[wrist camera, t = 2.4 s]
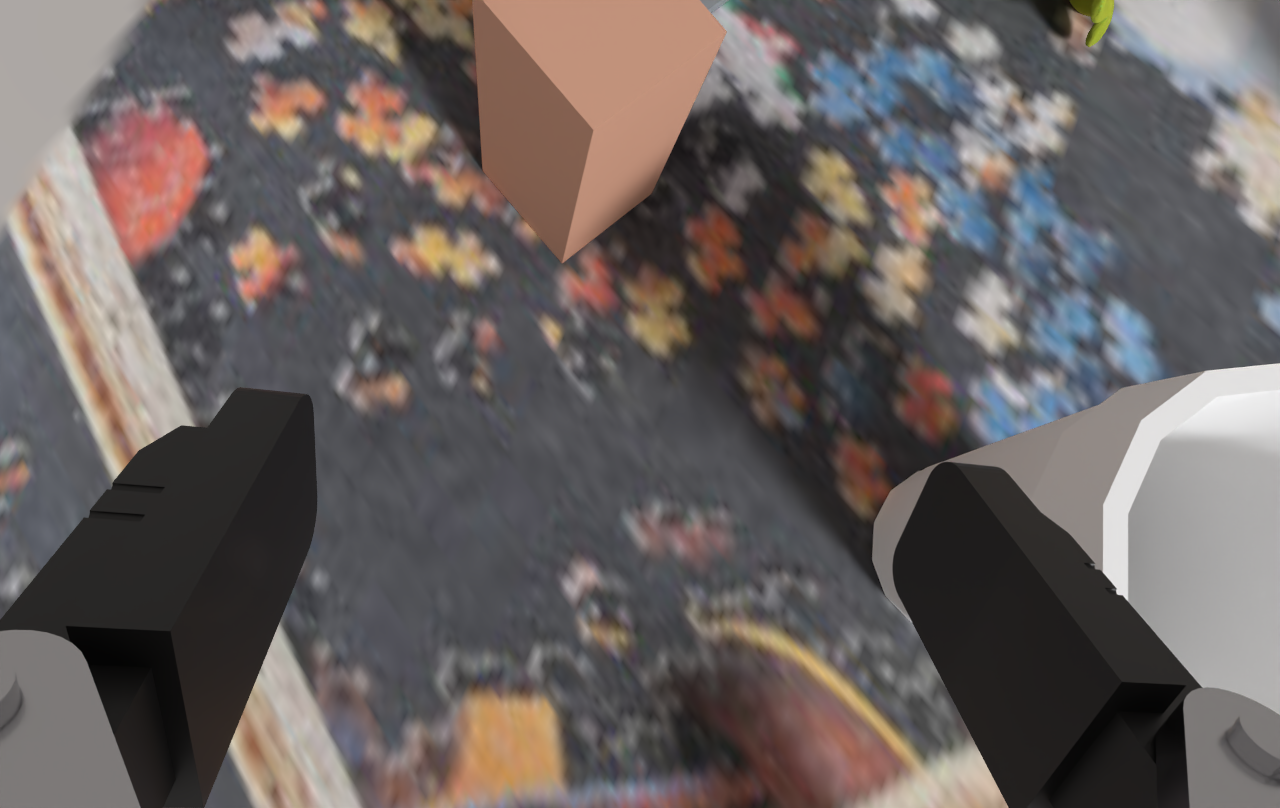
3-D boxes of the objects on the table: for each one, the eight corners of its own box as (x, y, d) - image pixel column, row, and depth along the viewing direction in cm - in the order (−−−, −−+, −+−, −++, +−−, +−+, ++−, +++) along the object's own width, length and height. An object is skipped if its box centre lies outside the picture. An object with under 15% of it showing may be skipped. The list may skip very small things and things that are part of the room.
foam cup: (1091, 623, 30) (1530, 705, 17) (888, 717, 28) (1213, 889, 15) (1001, 396, 30) (1358, 311, 18) (798, 471, 28) (1035, 437, 16)
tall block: (574, 104, 29) (611, -104, 19) (651, 193, 29) (727, 31, 19) (482, 170, 28) (471, -13, 18) (562, 263, 28) (593, 130, 18)
